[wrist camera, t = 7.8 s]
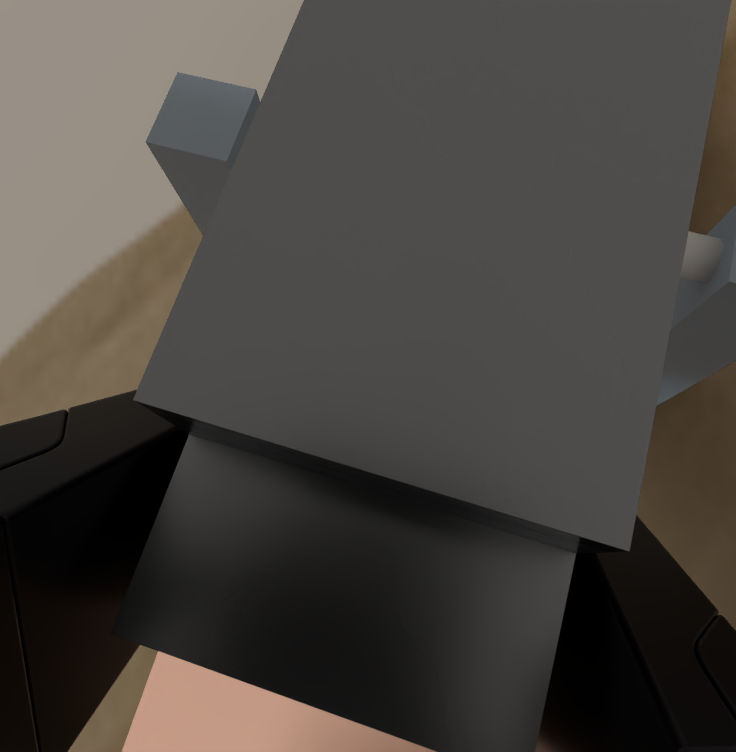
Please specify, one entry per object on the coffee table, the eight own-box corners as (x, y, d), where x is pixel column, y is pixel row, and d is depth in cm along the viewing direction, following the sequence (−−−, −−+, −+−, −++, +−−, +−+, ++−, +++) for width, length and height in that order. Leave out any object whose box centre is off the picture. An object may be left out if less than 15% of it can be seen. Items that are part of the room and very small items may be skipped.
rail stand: (680, 290, 23) (878, 107, 13) (658, 416, 21) (858, 312, 12) (276, 191, 25) (203, -28, 15) (233, 302, 23) (125, 136, 14)
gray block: (518, 357, 16) (732, -6, 6) (445, 642, 14) (571, 860, 4) (375, 318, 17) (338, -80, 6) (287, 589, 15) (24, 655, 4)
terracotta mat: (506, 550, 20) (509, 550, 20) (428, 890, 18) (428, 897, 18) (228, 465, 22) (226, 463, 21) (118, 772, 19) (112, 776, 19)
